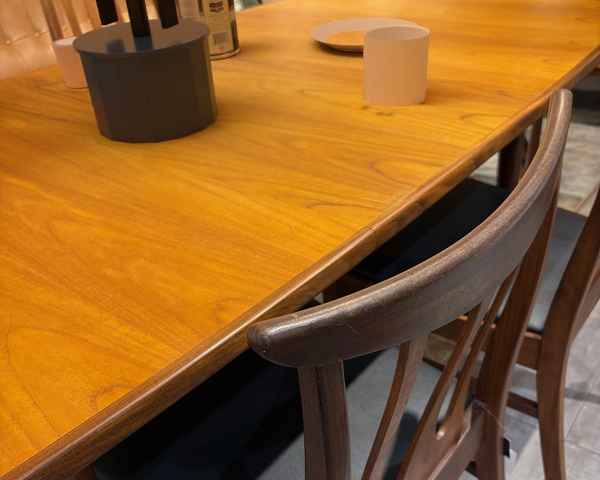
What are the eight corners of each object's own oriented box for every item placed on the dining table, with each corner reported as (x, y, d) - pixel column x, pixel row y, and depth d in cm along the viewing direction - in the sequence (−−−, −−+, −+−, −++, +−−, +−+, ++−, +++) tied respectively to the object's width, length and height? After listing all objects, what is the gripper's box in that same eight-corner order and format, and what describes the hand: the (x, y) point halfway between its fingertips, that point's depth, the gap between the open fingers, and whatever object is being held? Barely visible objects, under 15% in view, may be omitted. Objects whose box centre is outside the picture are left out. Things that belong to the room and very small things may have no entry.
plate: (391, 24, 127) (391, 12, 126) (440, 47, 111) (441, 34, 110) (296, 38, 123) (295, 26, 121) (333, 64, 106) (333, 51, 105)
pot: (75, 139, 84) (50, 52, 78) (146, 100, 96) (130, 22, 90) (175, 153, 78) (158, 60, 72) (238, 110, 90) (228, 27, 84)
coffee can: (211, 43, 123) (201, -36, 114) (251, 49, 118) (242, -34, 109) (174, 56, 116) (160, -27, 108) (214, 63, 111) (203, -24, 103)
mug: (415, 112, 85) (419, 42, 80) (354, 106, 89) (354, 38, 83) (437, 86, 94) (442, 21, 88) (381, 81, 97) (382, 18, 92)
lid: (45, 58, 78) (22, -18, 73) (130, 25, 91) (116, -42, 85) (160, 67, 71) (145, -15, 66) (235, 30, 84) (227, -41, 79)
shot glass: (109, 83, 105) (99, 40, 101) (69, 92, 102) (57, 48, 98) (95, 74, 110) (85, 33, 105) (57, 82, 107) (45, 40, 103)
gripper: (-5, -191, 67) (55, 27, 81) (158, -210, 60) (194, 36, 73) (44, -190, 73) (93, 15, 86) (199, -207, 65) (226, 21, 78)
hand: (139, 24), depth 80 cm, fingers open, 9 cm apart
